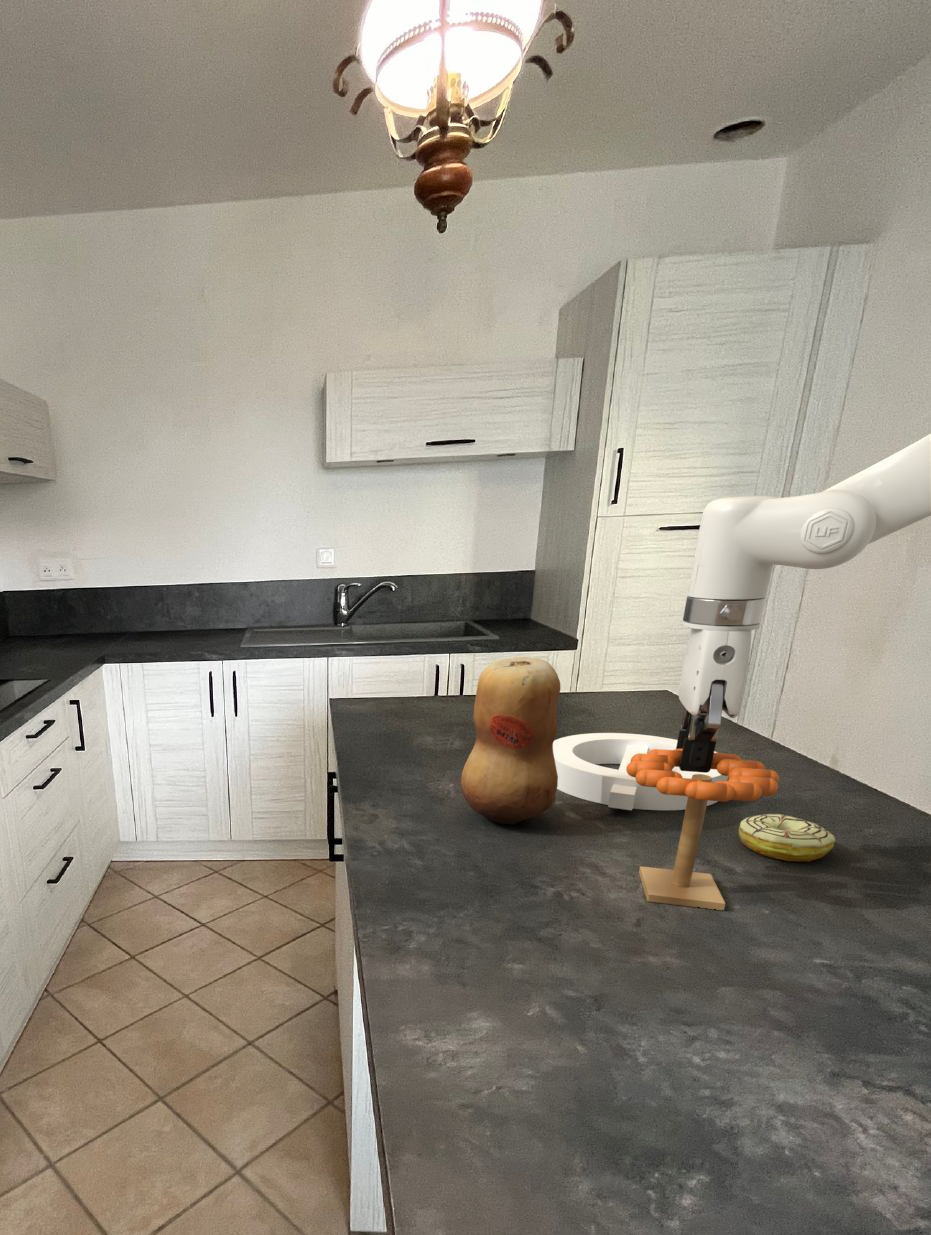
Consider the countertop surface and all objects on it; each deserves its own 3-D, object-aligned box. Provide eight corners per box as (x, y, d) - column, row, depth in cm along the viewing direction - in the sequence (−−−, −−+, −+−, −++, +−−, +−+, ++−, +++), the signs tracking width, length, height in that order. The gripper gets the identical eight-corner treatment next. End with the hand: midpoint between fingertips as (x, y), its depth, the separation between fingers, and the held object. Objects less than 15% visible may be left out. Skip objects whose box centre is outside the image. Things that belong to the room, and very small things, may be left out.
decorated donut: (826, 842, 101) (833, 817, 99) (832, 872, 92) (840, 845, 91) (737, 828, 106) (742, 804, 105) (735, 855, 98) (741, 829, 97)
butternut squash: (449, 829, 110) (461, 665, 101) (467, 800, 121) (479, 649, 112) (547, 843, 104) (569, 670, 95) (556, 811, 115) (576, 653, 106)
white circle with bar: (617, 819, 111) (622, 790, 109) (512, 766, 136) (514, 741, 135) (767, 797, 117) (773, 770, 115) (639, 750, 142) (643, 727, 140)
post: (709, 880, 92) (733, 768, 86) (724, 910, 85) (751, 791, 79) (638, 872, 94) (658, 763, 89) (647, 901, 87) (668, 785, 82)
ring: (761, 767, 88) (765, 751, 87) (792, 810, 77) (797, 793, 76) (619, 757, 93) (622, 743, 92) (630, 796, 82) (633, 780, 81)
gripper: (782, 623, 74) (743, 791, 81) (742, 605, 88) (711, 750, 95) (698, 622, 77) (667, 785, 83) (672, 605, 91) (647, 746, 97)
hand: (691, 765), depth 89 cm, fingers closed on ring, 2 cm apart
